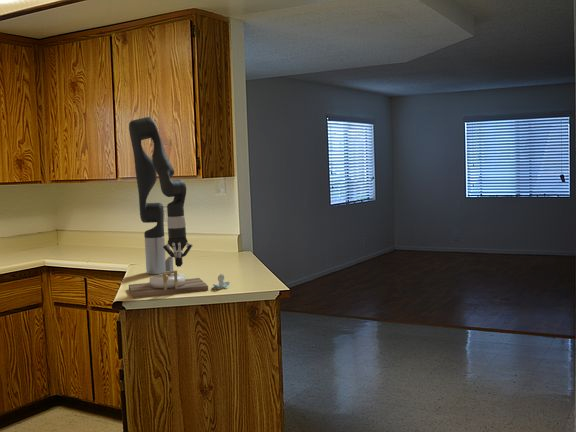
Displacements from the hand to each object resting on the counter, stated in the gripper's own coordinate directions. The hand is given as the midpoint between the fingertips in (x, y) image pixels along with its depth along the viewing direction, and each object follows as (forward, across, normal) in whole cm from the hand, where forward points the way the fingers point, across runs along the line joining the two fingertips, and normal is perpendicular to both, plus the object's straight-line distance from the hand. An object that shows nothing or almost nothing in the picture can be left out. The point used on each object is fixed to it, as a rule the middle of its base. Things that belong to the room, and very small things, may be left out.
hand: (179, 266), depth 282 cm
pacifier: (+8, +20, -10) cm, 23 cm away
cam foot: (+5, -3, -9) cm, 10 cm away
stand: (+7, -2, -13) cm, 15 cm away
